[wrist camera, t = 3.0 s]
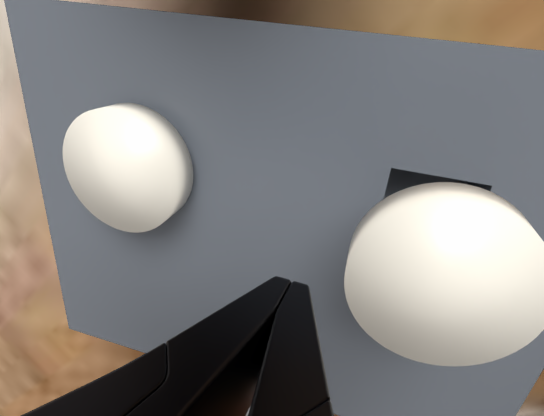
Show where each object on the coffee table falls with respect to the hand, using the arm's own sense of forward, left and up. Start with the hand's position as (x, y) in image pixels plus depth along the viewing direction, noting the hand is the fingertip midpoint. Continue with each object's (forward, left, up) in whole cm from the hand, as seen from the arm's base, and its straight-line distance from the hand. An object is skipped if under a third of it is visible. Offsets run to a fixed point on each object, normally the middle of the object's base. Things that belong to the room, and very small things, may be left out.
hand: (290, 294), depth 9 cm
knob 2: (-4, 0, -6) cm, 7 cm away
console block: (+2, +3, -12) cm, 12 cm away
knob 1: (+8, 0, -9) cm, 12 cm away
